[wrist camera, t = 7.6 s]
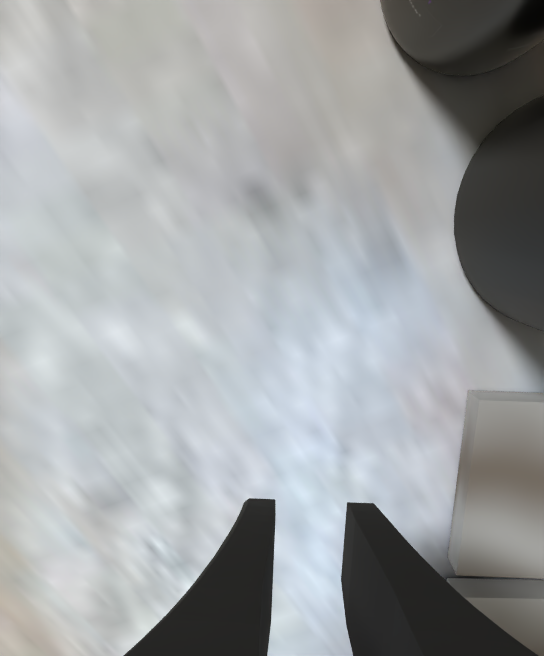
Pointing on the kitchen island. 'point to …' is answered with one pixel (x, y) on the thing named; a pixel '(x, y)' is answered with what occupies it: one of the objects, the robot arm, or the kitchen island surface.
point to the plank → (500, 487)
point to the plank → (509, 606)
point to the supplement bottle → (465, 32)
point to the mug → (506, 216)
